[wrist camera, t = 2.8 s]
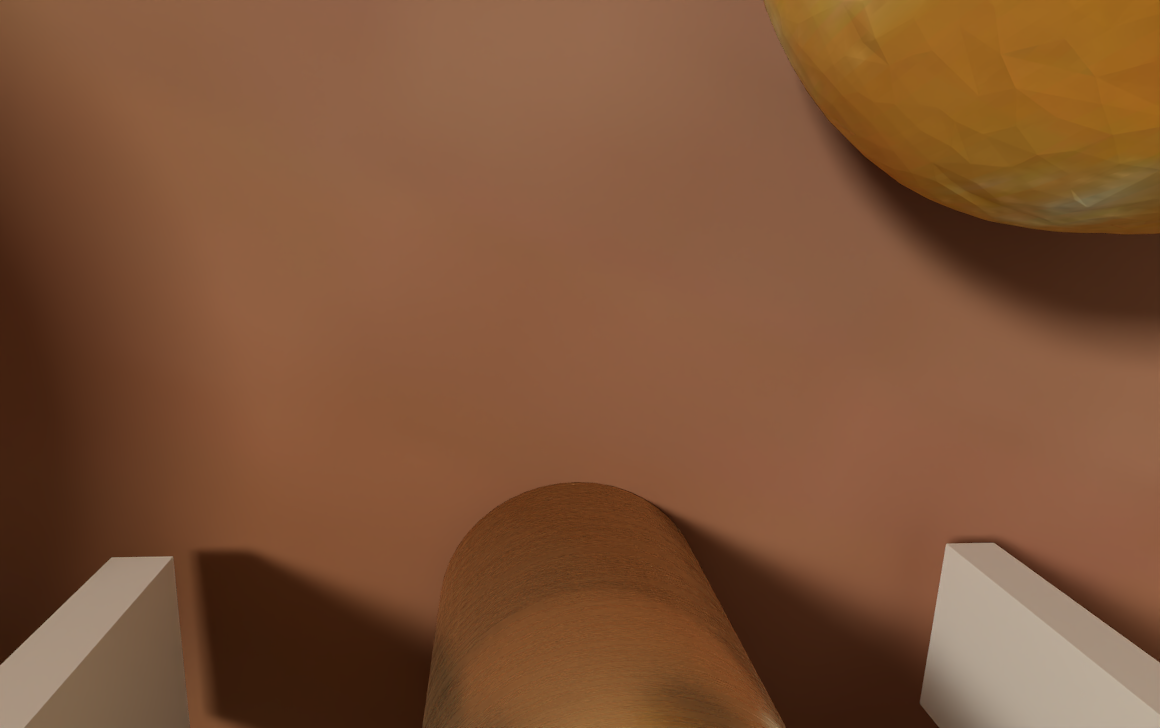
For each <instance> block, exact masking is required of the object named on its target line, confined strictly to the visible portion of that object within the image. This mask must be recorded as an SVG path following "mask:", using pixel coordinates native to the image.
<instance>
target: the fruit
mask: <svg viewBox="0 0 1160 728" xmlns="http://www.w3.org/2000/svg"><path fill="white" fill-rule="evenodd" d="M764 4H765V7H766V10H767V13H768V15H769V17H770V20H771V22H772V25H773V27H774V30H775V32H776V35H777V37H778V39H779V41H780V43H781V45H782V47H783V49H784V51H785V53H786V55H787V57H788V59H789V61H790V63H791V65H792V67H793V68H794V70H795V72H796V73H797V75H798V77H799V78H800V80H801V82H802V83H803V85H804V87H805V88H806V90H807V92H808V93H809V95H810V96H811V97H812V99H813V100H814V101H815V103H816V104H817V105H818V107H819V108H820V109H821V111H822V112H823V113H824V115H825V116H826V117H827V119H828V120H829V121H830V122H831V123H832V124H833V125H834V126H835V127H836V128H837V129H838V130H839V131H840V132H841V133H842V134H843V135H844V136H845V137H846V138H847V139H848V140H849V141H850V142H851V143H852V144H853V145H854V146H855V147H856V148H857V149H858V150H859V151H860V152H861V153H862V154H863V155H864V156H865V157H866V158H867V159H869V160H870V161H871V162H872V163H874V164H875V165H876V166H878V167H879V168H880V169H882V170H883V171H884V172H886V173H887V174H888V175H890V176H891V177H892V178H893V179H895V180H896V181H897V182H899V183H900V184H902V185H904V186H905V187H907V188H909V189H911V190H913V191H915V192H916V193H918V194H920V195H922V196H924V197H925V198H927V199H929V200H932V201H934V202H937V203H939V204H942V205H944V206H946V207H949V208H951V209H954V210H957V211H960V212H963V213H966V214H969V215H972V216H975V217H977V218H980V219H983V220H987V221H992V222H998V223H1003V224H1008V225H1014V226H1019V227H1025V228H1031V229H1039V230H1048V231H1056V232H1073V233H1112V234H1158V233H1160V0H764Z"/></svg>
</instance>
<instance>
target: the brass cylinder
mask: <svg viewBox="0 0 1160 728" xmlns="http://www.w3.org/2000/svg"><path fill="white" fill-rule="evenodd" d="M422 728H786V726H785V725H784V723H783V721H782V719H781V717H780V715H779V713H778V711H777V710H776V708H775V706H774V704H773V702H772V700H771V698H770V696H769V695H768V693H767V691H766V689H765V687H764V685H763V683H762V681H761V680H760V678H759V676H758V674H757V672H756V670H755V668H754V666H753V664H752V663H751V661H750V659H749V657H748V655H747V653H746V651H745V649H744V648H743V646H742V644H741V642H740V640H739V638H738V636H737V634H736V633H735V631H734V629H733V627H732V625H731V623H730V621H729V619H728V617H727V616H726V614H725V612H724V610H723V608H722V606H721V604H720V602H719V601H718V599H717V597H716V595H715V593H714V591H713V589H712V587H711V586H710V584H709V582H708V580H707V578H706V576H705V574H704V572H703V570H702V569H701V567H700V565H699V563H698V561H697V559H696V557H695V555H694V554H693V552H692V550H691V548H690V546H689V544H688V542H687V541H686V539H685V538H684V536H683V535H682V533H681V531H680V530H679V529H678V528H677V526H676V525H675V524H674V523H673V522H672V521H671V519H670V518H669V517H667V516H666V515H665V514H664V513H663V512H662V511H661V510H659V509H658V508H657V507H656V506H654V505H652V504H651V503H649V502H648V501H646V500H645V499H643V498H641V497H639V496H637V495H635V494H633V493H630V492H628V491H625V490H622V489H619V488H616V487H613V486H608V485H602V484H597V483H583V482H573V483H559V484H554V485H549V486H543V487H540V488H537V489H534V490H530V491H527V492H524V493H522V494H520V495H518V496H516V497H514V498H511V499H509V500H507V501H506V502H504V503H503V504H501V505H499V506H498V507H496V508H495V509H493V510H492V511H491V512H489V513H488V514H487V515H486V516H484V517H483V518H482V519H481V520H480V521H479V522H478V523H477V524H476V525H475V526H474V527H473V528H472V529H471V530H470V531H469V532H468V533H467V535H466V536H465V537H464V539H463V540H462V541H461V543H460V544H459V546H458V547H457V549H456V551H455V553H454V555H453V556H452V558H451V560H450V562H449V565H448V568H447V570H446V573H445V576H444V580H443V584H442V589H441V595H440V602H439V609H438V617H437V624H436V631H435V638H434V646H433V653H432V660H431V668H430V675H429V682H428V690H427V697H426V704H425V712H424V719H423V726H422Z"/></svg>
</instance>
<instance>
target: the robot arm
mask: <svg viewBox="0 0 1160 728" xmlns="http://www.w3.org/2000/svg"><path fill="white" fill-rule="evenodd" d="M920 705H921V706H922V707H923V708H924V710H925V711H926V712H927V713H928V715H929V716H930V717H931V718H932V719H933V721H934V722H935V723H936V724H937V726H938V727H939V728H1160V662H1158V661H1157V660H1155V659H1154V658H1153V657H1151V656H1150V655H1148V654H1147V653H1146V652H1144V651H1143V650H1142V649H1140V648H1139V647H1137V646H1136V645H1135V644H1133V643H1132V642H1130V641H1129V640H1128V639H1126V638H1125V637H1124V636H1122V635H1121V634H1119V633H1118V632H1117V631H1115V630H1114V629H1113V628H1111V627H1110V626H1108V625H1107V624H1106V623H1104V622H1103V621H1101V620H1100V619H1099V618H1097V617H1096V616H1095V615H1093V614H1092V613H1090V612H1089V611H1088V610H1086V609H1085V608H1083V607H1082V606H1081V605H1079V604H1078V603H1077V602H1075V601H1074V600H1072V599H1071V598H1070V597H1068V596H1067V595H1065V594H1064V593H1063V592H1061V591H1060V590H1059V589H1057V588H1056V587H1054V586H1053V585H1052V584H1050V583H1049V582H1048V581H1046V580H1045V579H1043V578H1042V577H1041V576H1039V575H1038V574H1036V573H1035V572H1034V571H1032V570H1031V569H1030V568H1028V567H1027V566H1025V565H1024V564H1023V563H1021V562H1020V561H1018V560H1017V559H1016V558H1014V557H1013V556H1012V555H1010V554H1009V553H1007V552H1006V551H1005V550H1003V549H1002V548H1001V547H999V546H998V545H996V544H995V543H952V544H946V548H945V554H944V560H943V566H942V572H941V578H940V584H939V590H938V596H937V602H936V608H935V614H934V620H933V626H932V632H931V638H930V644H929V650H928V656H927V662H926V668H925V674H924V680H923V686H922V692H921V698H920ZM0 728H190V723H189V713H188V703H187V693H186V682H185V672H184V662H183V652H182V641H181V631H180V621H179V611H178V600H177V590H176V580H175V570H174V559H173V556H164V557H111V558H110V559H109V560H108V561H107V562H106V563H105V564H104V565H103V566H102V567H101V568H100V569H99V570H98V571H97V572H96V573H95V574H94V575H93V576H92V577H91V578H90V579H89V580H88V581H87V582H86V583H85V584H84V585H83V586H82V587H81V588H79V589H78V590H77V591H76V592H75V593H74V594H73V595H72V596H71V597H70V598H69V599H68V600H67V601H66V602H65V603H64V604H63V605H62V606H61V607H60V608H59V609H58V610H57V611H56V612H55V613H54V614H53V615H52V616H51V617H50V618H48V619H47V620H46V621H45V622H44V623H43V624H42V625H41V626H40V627H39V628H38V629H37V630H36V631H35V632H34V633H33V634H32V635H31V636H30V637H29V638H28V639H27V640H26V641H25V642H24V643H23V644H22V645H21V646H20V647H19V648H18V649H16V650H15V651H14V652H13V653H12V654H11V655H10V656H9V657H8V658H7V659H6V660H5V661H4V662H3V663H2V664H1V665H0Z"/></svg>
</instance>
